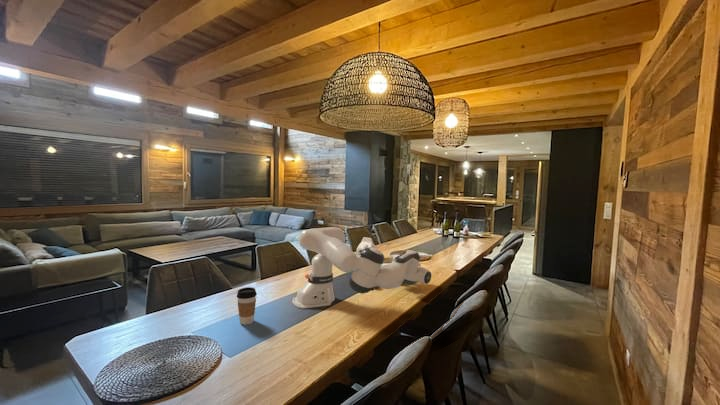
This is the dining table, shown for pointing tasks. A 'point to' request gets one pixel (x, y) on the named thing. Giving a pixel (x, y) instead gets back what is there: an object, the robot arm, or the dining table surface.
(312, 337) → the dining table surface
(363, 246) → the milk
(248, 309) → the coffee cup
